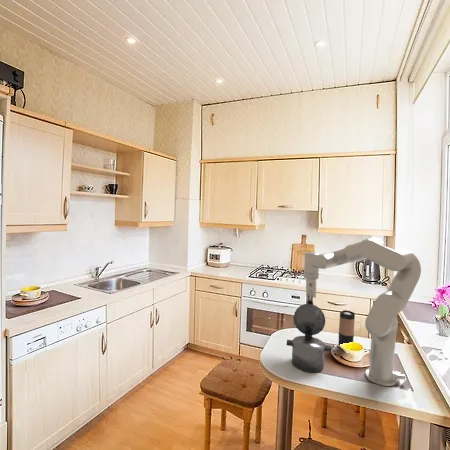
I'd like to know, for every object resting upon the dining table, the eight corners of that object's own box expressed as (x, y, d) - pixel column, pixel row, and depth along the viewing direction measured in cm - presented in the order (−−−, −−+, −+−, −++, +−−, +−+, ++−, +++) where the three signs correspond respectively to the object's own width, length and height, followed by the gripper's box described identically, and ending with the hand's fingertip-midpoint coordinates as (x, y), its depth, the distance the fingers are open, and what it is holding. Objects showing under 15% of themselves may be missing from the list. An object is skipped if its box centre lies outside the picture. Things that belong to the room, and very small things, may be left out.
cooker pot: (328, 358, 151) (329, 337, 150) (330, 376, 135) (332, 353, 134) (287, 352, 157) (288, 332, 156) (284, 368, 141) (285, 346, 140)
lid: (324, 339, 150) (324, 337, 153) (325, 305, 152) (325, 305, 155) (292, 334, 154) (293, 333, 157) (294, 302, 156) (294, 301, 159)
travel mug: (354, 352, 159) (356, 315, 157) (339, 350, 160) (341, 314, 159) (351, 345, 166) (353, 310, 165) (336, 344, 168) (338, 309, 166)
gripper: (318, 279, 151) (317, 314, 152) (318, 272, 166) (316, 305, 167) (303, 277, 153) (302, 312, 154) (304, 271, 168) (302, 303, 169)
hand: (309, 308), depth 161 cm, fingers closed
